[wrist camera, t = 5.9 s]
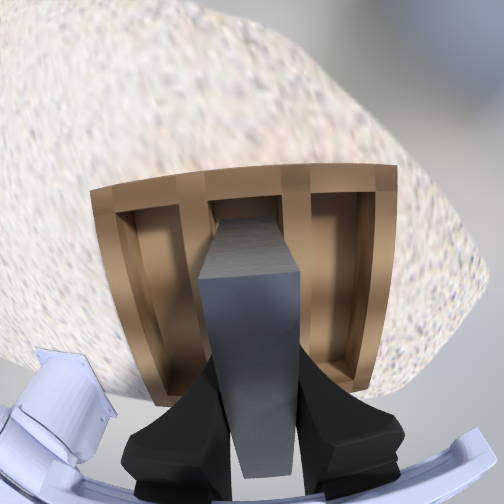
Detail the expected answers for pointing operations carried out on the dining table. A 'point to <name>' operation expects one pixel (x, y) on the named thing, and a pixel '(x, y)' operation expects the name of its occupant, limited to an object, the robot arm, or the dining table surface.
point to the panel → (255, 339)
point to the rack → (296, 237)
